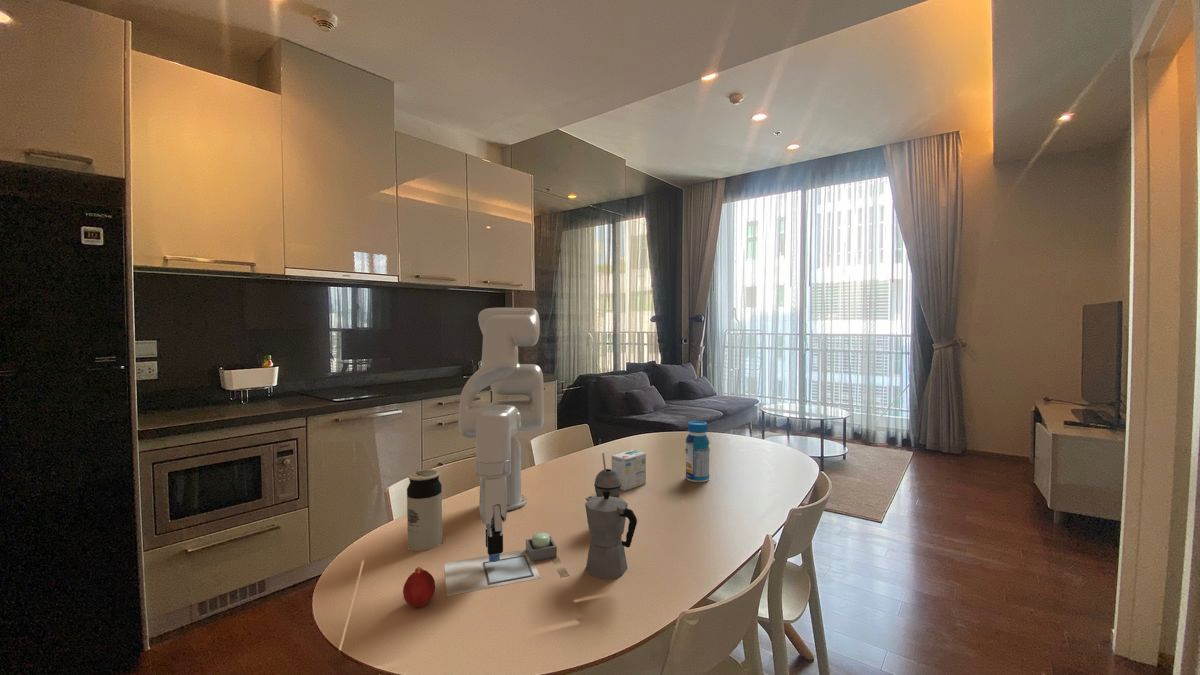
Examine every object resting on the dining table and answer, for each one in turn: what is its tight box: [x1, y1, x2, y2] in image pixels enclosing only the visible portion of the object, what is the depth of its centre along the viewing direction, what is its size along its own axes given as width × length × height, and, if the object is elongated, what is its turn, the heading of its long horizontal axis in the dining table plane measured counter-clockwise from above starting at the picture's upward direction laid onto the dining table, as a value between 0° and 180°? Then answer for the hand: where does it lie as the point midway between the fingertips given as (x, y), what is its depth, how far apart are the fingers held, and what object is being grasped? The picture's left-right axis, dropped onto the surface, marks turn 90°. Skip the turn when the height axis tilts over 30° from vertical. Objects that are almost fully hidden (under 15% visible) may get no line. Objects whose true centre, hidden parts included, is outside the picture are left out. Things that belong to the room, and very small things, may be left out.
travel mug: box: [406, 468, 443, 552], centre depth 116 cm, size 8×8×18 cm
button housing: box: [525, 535, 558, 563], centre depth 111 cm, size 6×6×3 cm
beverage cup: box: [593, 452, 621, 498], centre depth 127 cm, size 7×7×20 cm
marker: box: [486, 519, 500, 562], centre depth 105 cm, size 3×3×10 cm
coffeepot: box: [584, 490, 638, 580], centre depth 103 cm, size 15×9×18 cm, turn 43°
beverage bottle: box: [684, 420, 711, 483], centre depth 166 cm, size 8×8×20 cm
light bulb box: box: [611, 449, 647, 492], centre depth 161 cm, size 11×7×11 cm, turn 133°
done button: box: [531, 532, 551, 549], centre depth 111 cm, size 4×4×2 cm
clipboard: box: [443, 548, 570, 597], centre depth 104 cm, size 16×26×1 cm, turn 110°
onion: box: [402, 566, 436, 609], centre depth 91 cm, size 6×6×8 cm
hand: (494, 548), depth 105 cm, fingers closed on marker, 3 cm apart
